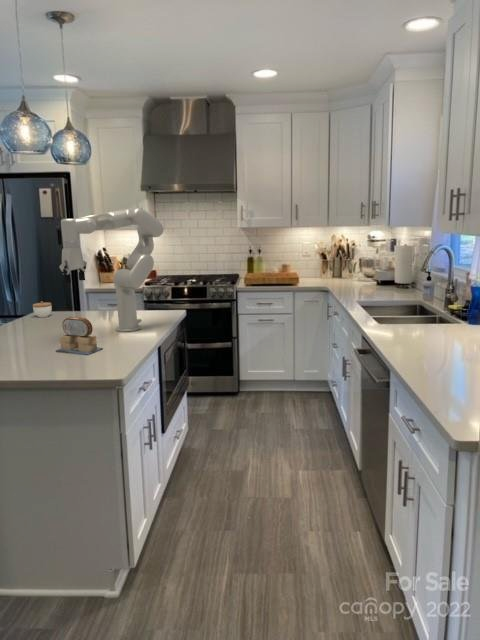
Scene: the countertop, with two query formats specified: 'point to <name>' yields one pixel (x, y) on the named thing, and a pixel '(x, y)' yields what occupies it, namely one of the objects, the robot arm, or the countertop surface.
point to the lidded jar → (42, 309)
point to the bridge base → (78, 344)
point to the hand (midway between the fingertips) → (75, 281)
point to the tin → (77, 326)
